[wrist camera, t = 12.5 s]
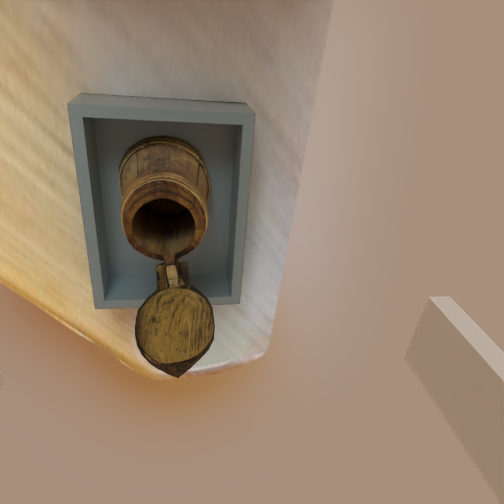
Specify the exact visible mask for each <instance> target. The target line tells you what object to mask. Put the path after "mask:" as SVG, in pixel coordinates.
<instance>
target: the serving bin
mask: <svg viewBox="0 0 504 504" xmlns="http://www.w3.org/2000/svg"><path fill="white" fill-rule="evenodd" d="M67 105H68V113H69V120H70V127H71V135H72V142H73V150H74V157H75V164H76V172H77V179H78V186H79V194H80V201H81V209H82V216H83V223H84V231H85V238H86V246H87V253H88V260H89V268H90V275H91V283H92V290H93V297H94V305H95V309H113V308H140V307H141V305H142V304H143V303H144V301H145V300H146V299H147V298H148V297H149V296H150V295H151V294H153V293H154V292H155V291H156V289H157V277H156V265H158V264H161V263H164V261H161V260H156V259H153V258H150V257H147V256H145V255H144V254H142V253H140V252H138V251H137V250H135V249H134V248H133V247H132V246H131V245H130V243H129V242H128V239H127V237H126V235H125V232H124V230H123V227H122V221H121V203H122V197H121V193H120V189H119V173H118V168H119V165H120V162H121V160H122V157H123V156H124V154H125V153H126V152H127V150H128V149H129V148H130V147H131V146H133V145H134V144H135V143H137V142H138V141H140V140H143V139H145V138H148V137H151V136H161V135H165V136H171V137H176V138H179V139H182V140H184V141H187V142H188V143H190V144H191V145H192V146H193V147H194V148H196V149H197V150H198V151H199V153H200V155H201V157H202V159H203V161H204V164H205V166H206V168H207V170H208V174H209V179H210V186H211V191H210V198H209V201H208V204H207V209H208V214H209V220H208V226H207V228H206V231H205V234H204V236H203V238H202V239H201V240H200V242H199V244H198V245H197V246H196V248H195V249H194V250H192V251H191V252H189V253H188V254H186V255H184V256H182V257H180V262H189V282H190V284H191V285H192V286H193V287H194V288H196V289H197V290H199V291H200V292H201V293H202V294H203V295H205V296H206V297H207V298H208V300H209V302H210V304H211V305H223V304H240V296H241V283H242V271H243V259H244V246H245V234H246V222H247V209H248V197H249V184H250V172H251V160H252V147H253V135H254V123H255V113H254V112H253V111H252V110H251V109H250V107H249V106H248V105H247V104H246V103H235V102H218V101H202V100H185V99H168V98H151V97H134V96H117V95H101V94H84V93H81V94H80V95H78V96H77V97H75V98H74V99H73V100H71V101H70V102H68V103H67Z"/></svg>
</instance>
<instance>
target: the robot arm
mask: <svg viewBox="0 0 504 504" xmlns="http://www.w3.org/2000/svg"><path fill="white" fill-rule="evenodd" d="M405 360H406V361H407V363H408V364H409V366H410V367H411V369H412V370H413V372H414V374H415V375H416V377H417V378H418V379H419V381H420V382H421V384H422V386H423V387H424V389H425V390H426V392H427V393H428V395H429V396H430V398H431V399H432V401H433V402H434V404H435V405H436V407H437V408H438V410H439V411H440V413H441V414H442V416H443V418H444V419H445V420H446V422H447V423H448V425H449V427H450V428H451V430H452V431H453V433H454V434H455V436H456V437H457V439H458V440H459V442H460V443H461V445H462V446H463V448H464V449H465V451H466V452H467V454H468V455H469V457H470V458H471V460H472V462H473V463H474V465H475V466H476V468H477V469H478V471H479V472H480V474H481V475H482V477H483V478H484V479H485V481H486V483H487V484H488V486H489V487H490V489H491V490H492V492H493V493H494V495H495V496H496V498H497V499H498V501H499V502H500V504H504V352H502V350H500V348H499V347H498V346H497V345H496V344H495V343H494V342H493V341H492V340H491V339H490V338H489V337H488V336H487V335H486V334H485V333H484V332H483V331H482V329H481V328H479V326H478V325H477V324H476V323H475V322H474V321H473V320H472V319H471V318H470V317H469V316H468V315H467V314H466V313H465V312H464V311H463V310H462V309H461V308H460V307H459V306H458V305H457V303H456V302H455V301H453V299H451V297H449V296H448V297H429V298H428V300H427V303H426V305H425V308H424V311H423V313H422V315H421V318H420V321H419V323H418V326H417V328H416V331H415V333H414V336H413V338H412V341H411V343H410V346H409V348H408V351H407V353H406V356H405ZM3 383H4V378H3V375H2V372H1V368H0V389H1V387H2V385H3Z"/></svg>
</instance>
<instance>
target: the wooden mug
mask: <svg viewBox="0 0 504 504" xmlns="http://www.w3.org/2000/svg"><path fill="white" fill-rule="evenodd" d="M118 173H119V189H120V193H121V197H122V203H121V221H122V227H123V230H124V232H125V235H126V237H127V239H128V242H129V243H130V245H131V246H132V247H133V248H134V249H135V250H137V251H138V252H140V253H142V254H144V255H145V256H147V257H150V258H153V259H156V260H161V261H164V263H161V264H158V265H156V277H157V289H156V291H155V292H154V293H153V294H151V295H150V296H149V297H148V298H147V299H146V300H145V301H144V303H143V304H142V305H141V307H140V308H139V309H138V313H137V317H136V324H135V337H136V342H137V346H138V348H139V350H140V352H141V354H142V356H143V357H144V358H145V359H146V360H147V361H148V362H149V363H150V364H151V365H153V366H154V367H156V368H157V369H159V370H161V371H163V372H165V373H167V374H169V375H172V376H175V377H177V378H179V377H180V376H181V375H182V374H184V373H185V372H186V371H187V370H189V369H190V368H191V367H192V366H193V365H194V364H195V363H196V362H197V361H198V360H199V359H200V358H201V357H202V356H203V355H204V354H205V353H206V352H207V351H208V349H209V348H210V346H211V344H212V342H213V340H214V329H215V325H214V316H213V309H212V306H211V304H210V302H209V300H208V298H207V297H206V296H205V295H203V294H202V293H201V292H200V291H199V290H197V289H196V288H194V287H193V286H192V285H191V284H190V282H189V262H180V257H182V256H184V255H186V254H188V253H189V252H191V251H192V250H194V249H195V248H196V246H197V245H198V244H199V242H200V240H201V239H202V238H203V236H204V234H205V231H206V228H207V226H208V220H209V214H208V209H207V204H208V201H209V198H210V191H211V186H210V179H209V174H208V170H207V168H206V166H205V164H204V161H203V159H202V157H201V155H200V153H199V151H198V150H197V149H196V148H194V147H193V146H192V145H191V144H190V143H188V142H187V141H184V140H182V139H179V138H176V137H171V136H165V135H161V136H151V137H148V138H145V139H143V140H140V141H138V142H137V143H135V144H134V145H133V146H131V147H130V148H129V149H128V150H127V152H126V153H125V154H124V156H123V157H122V160H121V162H120V165H119V168H118Z"/></svg>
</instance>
